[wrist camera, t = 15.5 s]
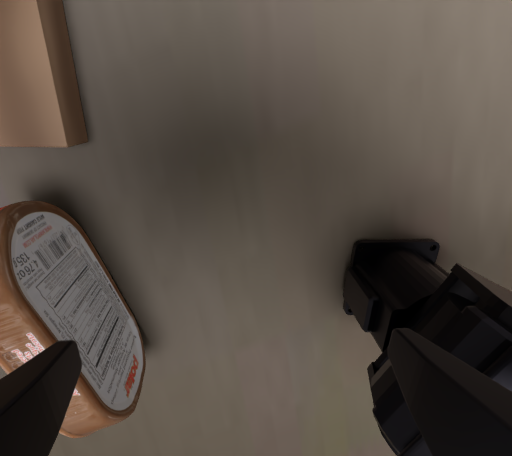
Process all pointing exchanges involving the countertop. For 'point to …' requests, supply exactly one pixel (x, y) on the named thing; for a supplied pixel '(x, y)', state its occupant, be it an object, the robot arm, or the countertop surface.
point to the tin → (67, 313)
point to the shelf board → (38, 77)
